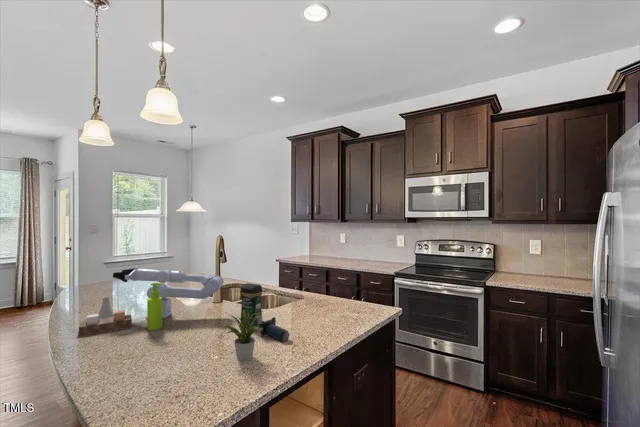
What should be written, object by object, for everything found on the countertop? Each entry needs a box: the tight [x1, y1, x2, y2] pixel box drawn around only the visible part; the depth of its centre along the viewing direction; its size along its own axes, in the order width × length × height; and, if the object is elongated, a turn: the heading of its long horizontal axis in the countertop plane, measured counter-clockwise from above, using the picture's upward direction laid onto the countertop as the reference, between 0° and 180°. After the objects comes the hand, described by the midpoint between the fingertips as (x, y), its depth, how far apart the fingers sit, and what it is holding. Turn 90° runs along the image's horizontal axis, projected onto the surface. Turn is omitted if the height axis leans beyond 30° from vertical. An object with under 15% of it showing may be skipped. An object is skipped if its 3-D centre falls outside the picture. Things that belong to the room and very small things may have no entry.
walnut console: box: [78, 313, 133, 337], centre depth 142 cm, size 19×9×4 cm, turn 123°
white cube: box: [86, 313, 99, 325], centre depth 139 cm, size 4×4×4 cm
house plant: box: [221, 310, 264, 362], centre depth 112 cm, size 14×14×16 cm
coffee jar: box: [240, 282, 263, 327], centre depth 146 cm, size 10×8×19 cm
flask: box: [98, 296, 115, 319], centre depth 157 cm, size 7×7×10 cm
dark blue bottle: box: [258, 316, 290, 342], centre depth 130 cm, size 9×8×12 cm
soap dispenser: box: [146, 282, 165, 331], centre depth 142 cm, size 6×7×20 cm
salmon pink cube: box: [114, 309, 126, 321], centre depth 144 cm, size 4×4×4 cm
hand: (117, 273), depth 158 cm, fingers open, 7 cm apart
